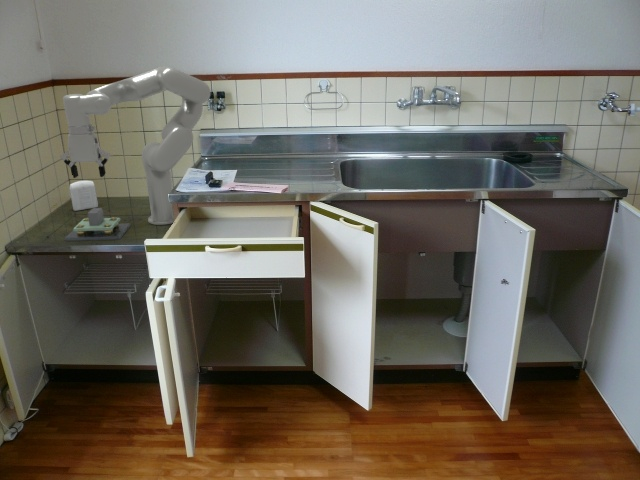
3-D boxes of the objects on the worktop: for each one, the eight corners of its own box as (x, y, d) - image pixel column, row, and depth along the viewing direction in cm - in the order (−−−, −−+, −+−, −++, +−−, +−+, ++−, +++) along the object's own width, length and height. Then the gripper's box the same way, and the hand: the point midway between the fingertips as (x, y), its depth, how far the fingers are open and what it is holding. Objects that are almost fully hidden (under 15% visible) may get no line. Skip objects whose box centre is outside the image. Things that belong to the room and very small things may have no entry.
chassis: (130, 226, 210) (128, 214, 208) (119, 239, 197) (117, 226, 196) (79, 227, 210) (77, 215, 208) (65, 240, 197) (62, 228, 195)
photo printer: (97, 204, 236) (92, 178, 231) (99, 207, 233) (94, 180, 228) (72, 209, 231) (67, 181, 226) (74, 211, 227) (69, 184, 223)
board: (120, 219, 208) (118, 205, 205) (111, 230, 198) (109, 214, 195) (84, 221, 207) (81, 206, 205) (73, 231, 197) (70, 216, 195)
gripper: (108, 127, 193) (116, 173, 199) (60, 128, 192) (69, 174, 199) (101, 131, 186) (109, 178, 192) (51, 132, 185) (61, 180, 192)
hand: (89, 176), depth 196 cm, fingers open, 9 cm apart
